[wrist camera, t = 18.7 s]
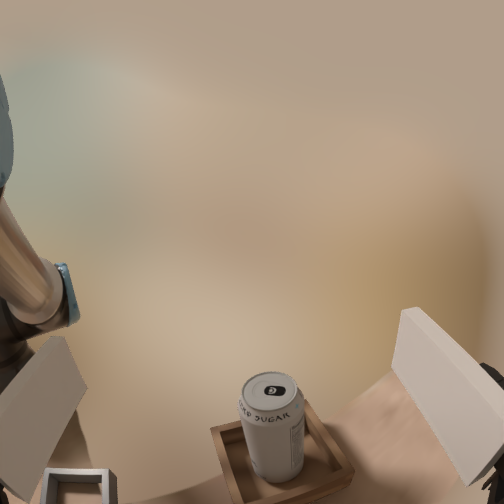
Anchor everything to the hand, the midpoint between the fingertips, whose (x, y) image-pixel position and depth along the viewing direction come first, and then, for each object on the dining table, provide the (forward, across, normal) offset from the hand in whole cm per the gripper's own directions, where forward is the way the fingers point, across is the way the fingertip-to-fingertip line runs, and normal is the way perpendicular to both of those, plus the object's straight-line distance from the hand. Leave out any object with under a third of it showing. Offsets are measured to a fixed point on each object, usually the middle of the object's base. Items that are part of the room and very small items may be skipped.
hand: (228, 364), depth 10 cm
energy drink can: (+11, +2, -27) cm, 29 cm away
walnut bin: (+11, +2, -27) cm, 30 cm away
